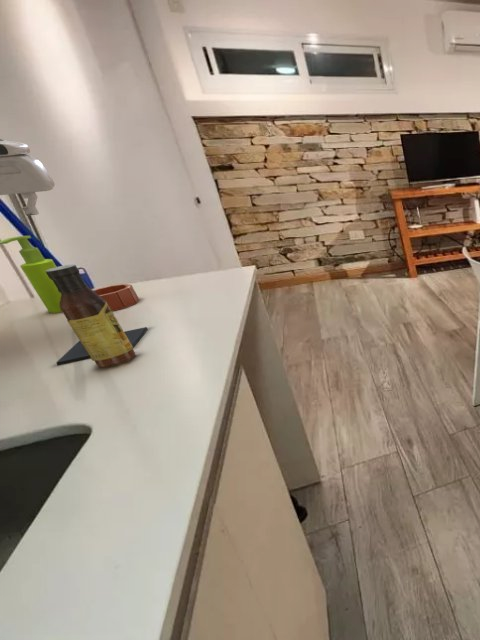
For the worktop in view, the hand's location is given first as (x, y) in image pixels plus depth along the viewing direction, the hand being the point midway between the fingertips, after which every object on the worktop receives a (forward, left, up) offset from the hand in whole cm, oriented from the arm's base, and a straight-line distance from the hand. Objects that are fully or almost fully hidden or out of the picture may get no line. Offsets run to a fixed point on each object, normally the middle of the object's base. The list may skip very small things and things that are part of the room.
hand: (2, 218), depth 101 cm
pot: (+3, +17, -27) cm, 32 cm away
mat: (+10, -17, -27) cm, 33 cm away
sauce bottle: (+15, -29, -27) cm, 43 cm away
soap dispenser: (-10, +24, -27) cm, 38 cm away
